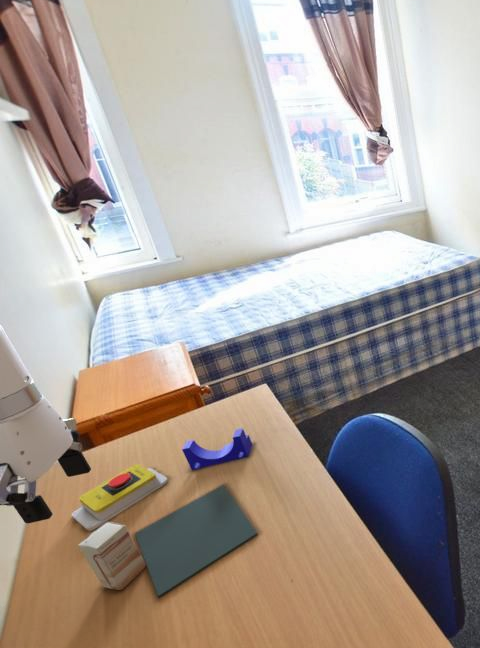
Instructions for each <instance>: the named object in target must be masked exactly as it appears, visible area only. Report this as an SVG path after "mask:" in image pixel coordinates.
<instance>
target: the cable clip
mask: <svg viewBox="0 0 480 648" xmlns="http://www.w3.org/2000/svg"><path fill="white" fill-rule="evenodd" d="M232 440H233V441H232V442H230V443H228V444H226V445H223V447H222V448H221V449H220V450H210V449H206V448H205V447H201V446H200V445H199V444H198V443H197V442H196V441H195V439H191V440H186V442H185V443H184V445H183V447H182V449H181V451H182V453H183V454H184V457H185V459H186V461H187V463H188V465H189V467H190V469H191V471H194V470H198V469H202V468H206V467H210V466H215V465H219V464H223V463H227V462H231V461H237V460H239V459H244V458H248V457H249V455H250V452H251V451H252V448H253V442H252V440H251V437H250V435H249V434H246V432H245V430H244V428H238V429H235V432H234V433H233V436H232Z"/></svg>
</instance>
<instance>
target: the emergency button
mask: <svg viewBox="0 0 480 648" xmlns="http://www.w3.org/2000/svg"><path fill="white" fill-rule="evenodd" d="M168 482H169V479H168V478H167V477H166V476H165V475H163V474H161V473H160V472H159V471H156V470H155V469H153V468H151V467H148V468H146V467H145V466H143V465H141V464H140V463H136V464H134V465H132V466H130V467H128V468H127V469H125V470H123V471H121V472H119V473H117V474H115V475H114V476H113V477H111V478H108V479H107V480H105V481H103V482H102V483H100V484H99V485H97V486H95V487H94V488H92V489H90V490H88V491H86V492H85V493H83V494H82V495H80V496H79V497H78V499H79V502H80V503H81V505H82V506H81V507H79V508H77V509H76V510H74V511H73V512H72V513H71V517H72V519H73V520H75V521H76V522H77V523H78V524H79V525H81V526H82V527H83V528H84V529H85V530H87V531H89V532H90V531H94V530H96V529H98V528H100V527H101V526H102V525H103V524H105V523H106V522H109V520H111V519H113V518H115V517H116V516H118V515H119V514H122V512H124V511H125V510H127V509H128V508H130V507H132V506H133V505H135V504H137V503H138V502H140V501H141V500H143V499H144V498H146V497H147V496H149V495H151V494H153V493H154V492H156V491H157V490H159V489H160V488H161V487H163V486H165V485H166V484H167V483H168Z"/></svg>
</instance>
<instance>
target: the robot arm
mask: <svg viewBox="0 0 480 648" xmlns="http://www.w3.org/2000/svg"><path fill="white" fill-rule="evenodd" d="M79 440H80V431H78V424H77V419H76V418H68V419H63V418H62V416H61V415H60V414H59V412H58V411H57V410H56V409H55V407H54V406H53V405H52V403H51V402H50V401H49V400H48V399H47V398H46V397H45V395H43V394H42V393H41V391H40V390H39V388H38V386H37V384H36V383H35V381H34V379H33V377H32V376H31V374H30V372H29V371H28V369H27V367H26V365H25V364H24V362H23V360H22V358H21V357H20V355H19V353H18V351H17V349H16V348H15V346H14V345H13V343H12V342H11V340H10V338H9V337H8V335H7V333H6V331H5V329H4V328H3V326H2V324H0V506H6V507H12V506H13V508H14V509H15V511H16V512H17V514H18V515H19V517H20V518H21V519H22V521H23V522H24V524H33V523H37V522H42V521H46V520H50V519H51V518H52V516H53V512H52V510H51V509H50V507H49V505H48V504H47V503H46V501H45V500H44V498H43V497H42V495H41V494H38V495H36V492H37V481H38V480H39V479H40V478H41V477H42V476H44V475H45V473H46V472H47V471H48V470H49V469H50V468H51V467H52V466H53V465H54V464H55V463H56V462H58V463H59V465H60V467H61V468H62V470H63V472H64V473H65V475H66V477H68V478H69V477H70V478H71V477H76V476H80V475H85V474H89V473H90V472H91V470H92V467H91V466H90V463H88V461H87V459H86V457H85V455H84V453H83V452H82V451H81V450H82V449H83V447H82V443H80V442H79ZM18 478H21V479H18ZM23 485H24V490H23V492H22V493H21V492H19V487H20V486H23Z"/></svg>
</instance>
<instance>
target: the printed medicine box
mask: <svg viewBox="0 0 480 648" xmlns="http://www.w3.org/2000/svg"><path fill="white" fill-rule="evenodd" d="M77 546H78V547H79V549H80V551H81V553H82V554H83V556H84V558H85V560H86V561H87V563H88V565H89V566H90V568H91V569H92V571H93V573H94V574H95V576H96V578H97V579H98V581H99V583H100V584H101V586H102V587H104V588H106V589H110V590H115V591H122V590H123V589H124V588H125V587H127V585H129V584H130V583H131V582H132V581H133V580H134V579H135V578H136V577H137V576H138V575H140V573H141V572H142V571H143V570H144V569H146V567H147V565H146V562H145V559H144V557H143V555H141V553H140V551H139V549H138V547H137V546H136V543H135V542H134V540H133V538H132V536H131V533H130V532H129V530H128V529H127V526H126V525H125V524H122V523H119V522H118V523H117V522H113V521H107V522H105V523H103V524H102V525H100V526H99V527H97V528H96V529H95V530H93V532H91V533H90V534H89V535H88V536H87V537H86V538H84V539H83V540H82V541H81V542H80V543H79V544H78V545H77Z"/></svg>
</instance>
